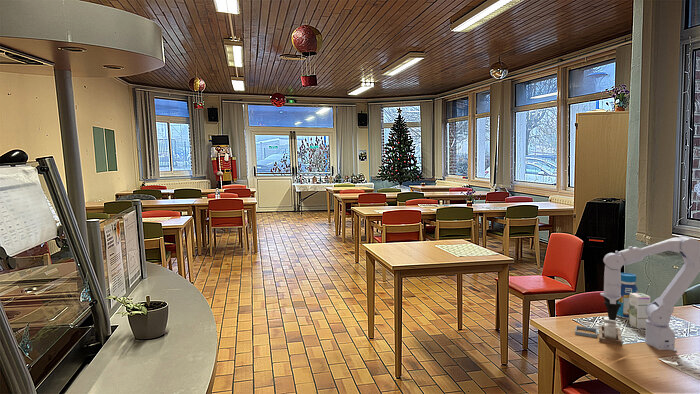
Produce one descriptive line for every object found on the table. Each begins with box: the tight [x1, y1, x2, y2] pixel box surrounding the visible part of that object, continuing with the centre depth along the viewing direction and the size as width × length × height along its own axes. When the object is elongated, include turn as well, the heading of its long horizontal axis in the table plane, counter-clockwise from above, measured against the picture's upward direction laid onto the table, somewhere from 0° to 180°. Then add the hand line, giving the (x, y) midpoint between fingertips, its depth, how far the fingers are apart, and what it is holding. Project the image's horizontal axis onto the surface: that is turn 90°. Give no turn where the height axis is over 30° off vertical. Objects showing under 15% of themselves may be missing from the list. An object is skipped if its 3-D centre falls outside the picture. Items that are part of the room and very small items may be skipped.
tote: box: [574, 325, 598, 339], centre depth 178 cm, size 8×8×2 cm
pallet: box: [598, 324, 623, 346], centre depth 174 cm, size 16×8×2 cm, turn 150°
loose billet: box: [603, 323, 618, 340], centre depth 170 cm, size 4×4×6 cm
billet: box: [603, 316, 617, 326], centre depth 177 cm, size 4×4×6 cm
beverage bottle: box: [616, 272, 639, 320], centre depth 199 cm, size 8×8×20 cm
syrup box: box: [628, 292, 651, 329], centre depth 186 cm, size 6×6×14 cm
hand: (611, 317), depth 172 cm, fingers open, 7 cm apart
